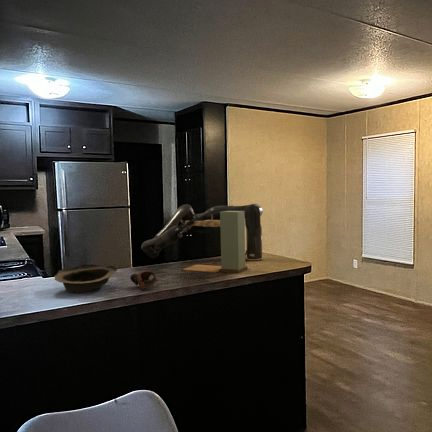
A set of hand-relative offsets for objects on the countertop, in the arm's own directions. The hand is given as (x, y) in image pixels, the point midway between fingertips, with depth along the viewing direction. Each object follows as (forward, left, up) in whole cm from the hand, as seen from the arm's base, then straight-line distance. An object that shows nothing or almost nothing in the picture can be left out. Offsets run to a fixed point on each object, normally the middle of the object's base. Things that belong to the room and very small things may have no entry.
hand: (195, 220), depth 237 cm
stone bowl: (+25, -54, -26) cm, 65 cm away
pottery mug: (+33, -31, -26) cm, 52 cm away
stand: (+16, +16, -26) cm, 34 cm away
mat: (+5, +4, -26) cm, 27 cm away
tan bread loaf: (+4, +4, -3) cm, 6 cm away
